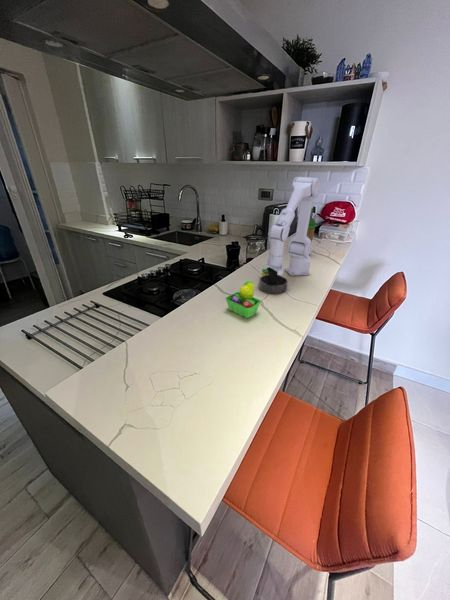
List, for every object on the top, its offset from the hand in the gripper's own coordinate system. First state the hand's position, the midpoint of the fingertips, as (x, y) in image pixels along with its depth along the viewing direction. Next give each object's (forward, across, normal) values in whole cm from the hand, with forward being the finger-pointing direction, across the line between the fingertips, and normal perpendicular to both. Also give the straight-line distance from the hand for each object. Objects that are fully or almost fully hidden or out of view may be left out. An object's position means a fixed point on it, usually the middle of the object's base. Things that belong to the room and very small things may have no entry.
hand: (272, 283), depth 113 cm
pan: (+2, +1, 0) cm, 2 cm away
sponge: (+2, -9, +1) cm, 9 cm away
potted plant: (+2, -43, +32) cm, 54 cm away
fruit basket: (+2, +18, -17) cm, 25 cm away
